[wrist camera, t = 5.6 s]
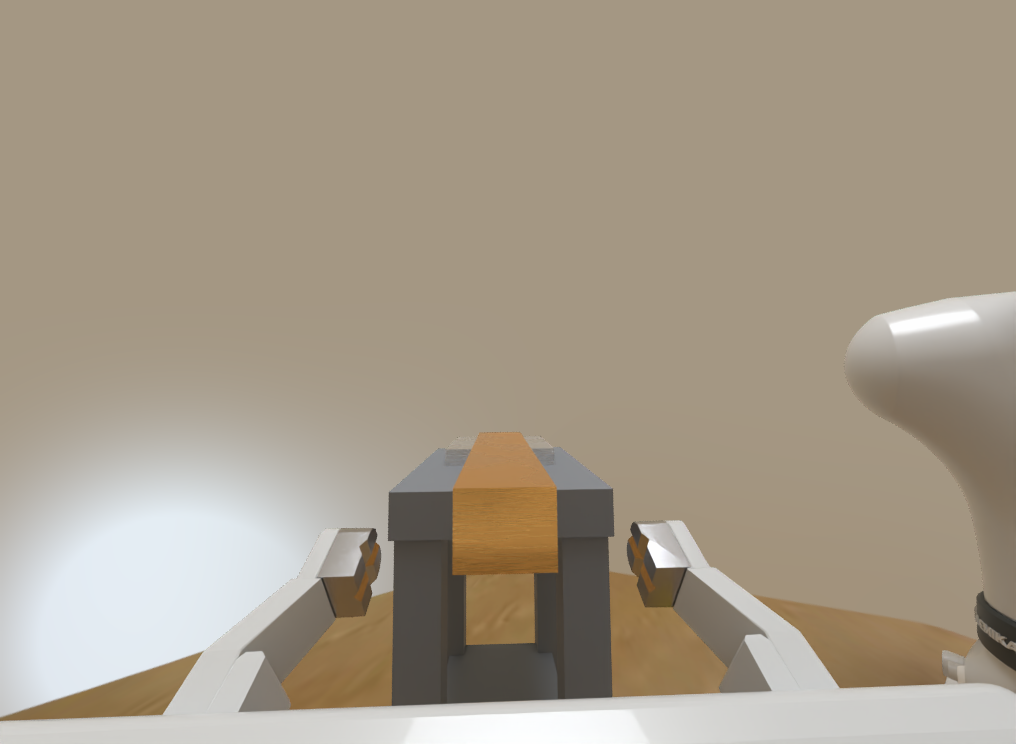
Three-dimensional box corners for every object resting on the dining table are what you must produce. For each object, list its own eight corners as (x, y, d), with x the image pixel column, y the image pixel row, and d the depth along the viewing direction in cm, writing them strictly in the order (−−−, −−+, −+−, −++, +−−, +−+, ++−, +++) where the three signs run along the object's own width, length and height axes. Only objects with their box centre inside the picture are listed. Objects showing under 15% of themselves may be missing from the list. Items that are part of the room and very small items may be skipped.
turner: (457, 449, 34) (457, 424, 34) (540, 448, 34) (540, 423, 34) (363, 577, 10) (364, 489, 10) (644, 570, 10) (641, 485, 10)
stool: (436, 732, 33) (438, 448, 35) (565, 727, 33) (560, 447, 35) (380, 1045, 17) (388, 492, 19) (627, 1030, 17) (612, 488, 19)
